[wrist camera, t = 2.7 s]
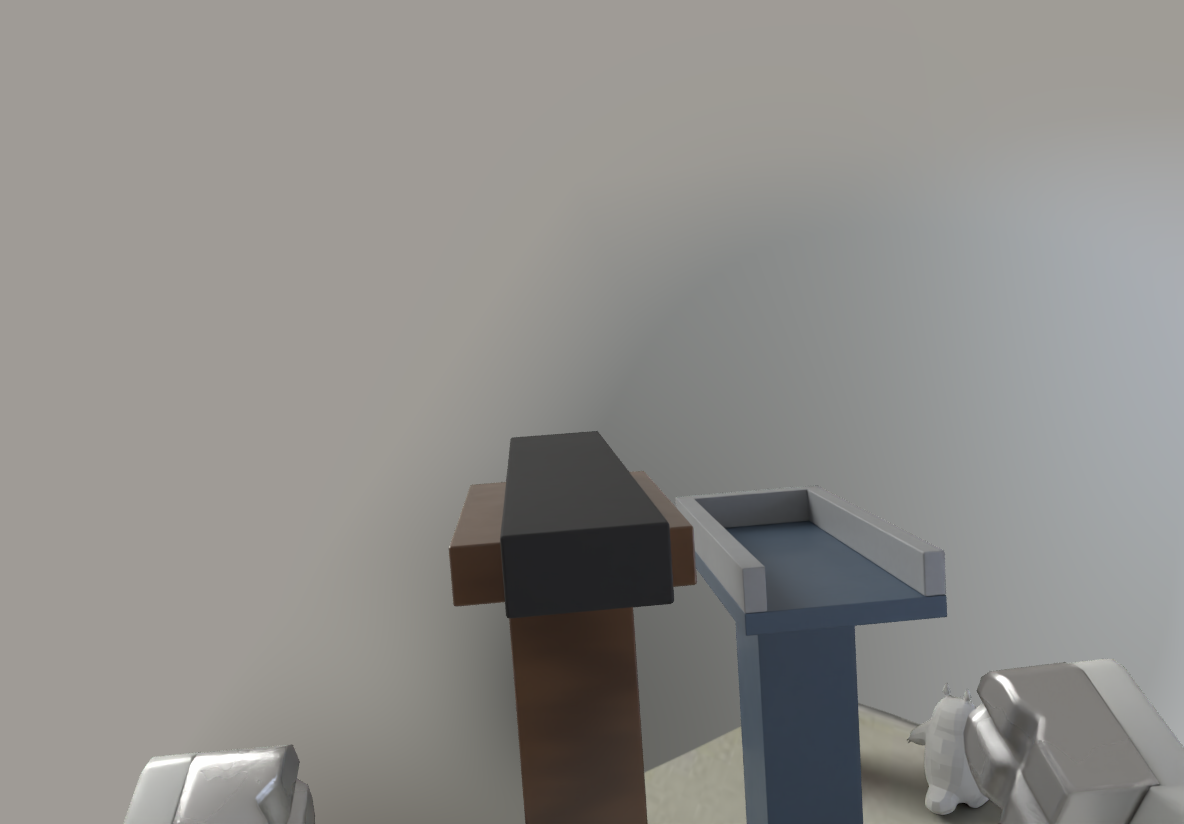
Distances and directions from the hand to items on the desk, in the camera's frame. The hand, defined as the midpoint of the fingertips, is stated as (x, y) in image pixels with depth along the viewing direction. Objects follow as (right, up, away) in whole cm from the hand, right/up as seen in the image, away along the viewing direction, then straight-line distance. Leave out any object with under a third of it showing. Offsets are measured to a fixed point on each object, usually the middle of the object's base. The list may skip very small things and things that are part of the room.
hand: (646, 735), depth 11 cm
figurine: (+23, -22, +48) cm, 58 cm away
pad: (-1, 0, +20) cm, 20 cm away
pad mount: (+11, -24, +39) cm, 47 cm away
